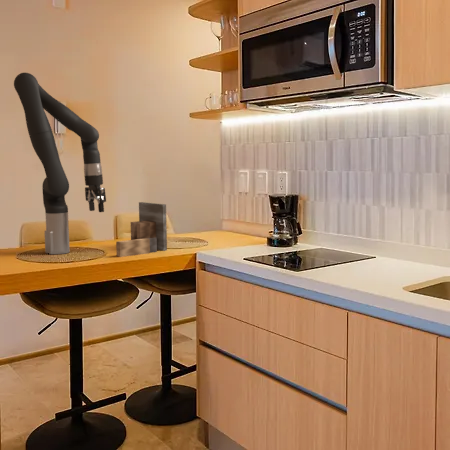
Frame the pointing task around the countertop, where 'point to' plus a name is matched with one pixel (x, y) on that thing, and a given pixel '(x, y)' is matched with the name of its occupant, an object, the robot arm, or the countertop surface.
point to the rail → (136, 247)
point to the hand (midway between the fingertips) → (96, 211)
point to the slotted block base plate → (151, 224)
